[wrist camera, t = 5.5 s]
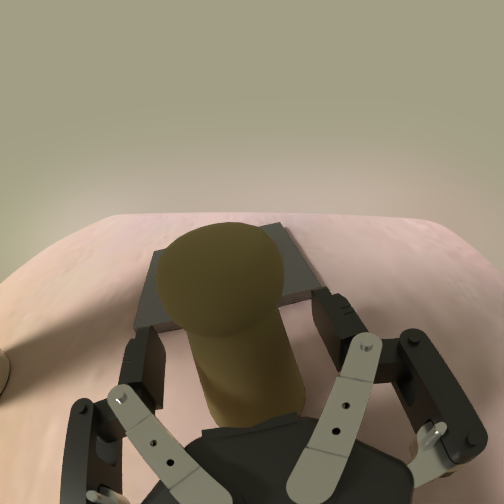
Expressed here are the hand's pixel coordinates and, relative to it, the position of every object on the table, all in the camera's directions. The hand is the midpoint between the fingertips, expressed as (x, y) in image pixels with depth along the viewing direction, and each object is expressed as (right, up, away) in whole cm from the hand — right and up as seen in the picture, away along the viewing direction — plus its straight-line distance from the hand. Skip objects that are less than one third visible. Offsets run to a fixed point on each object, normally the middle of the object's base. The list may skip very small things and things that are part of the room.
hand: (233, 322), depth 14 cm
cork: (+1, -6, +2) cm, 6 cm away
